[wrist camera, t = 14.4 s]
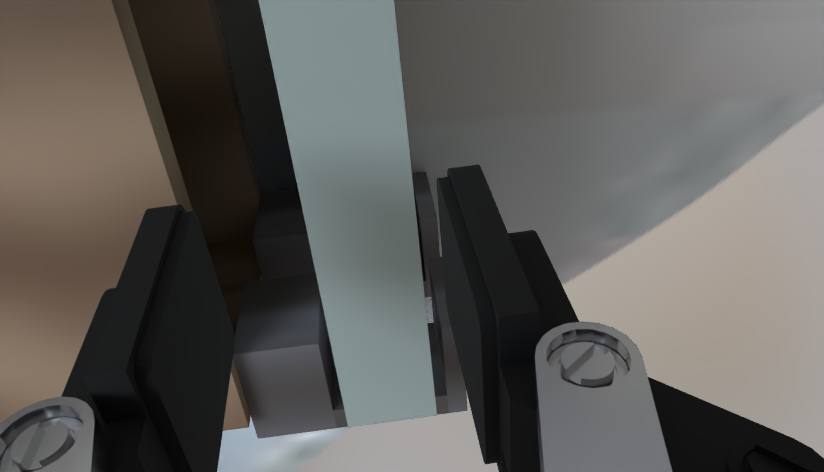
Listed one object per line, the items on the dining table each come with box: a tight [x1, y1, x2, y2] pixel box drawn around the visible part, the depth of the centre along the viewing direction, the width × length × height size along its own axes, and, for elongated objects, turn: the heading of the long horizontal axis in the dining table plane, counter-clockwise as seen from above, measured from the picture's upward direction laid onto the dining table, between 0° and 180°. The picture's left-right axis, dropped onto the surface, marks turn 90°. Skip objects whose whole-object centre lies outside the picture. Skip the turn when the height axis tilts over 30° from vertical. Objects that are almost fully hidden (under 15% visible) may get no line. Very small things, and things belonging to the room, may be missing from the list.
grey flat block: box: [259, 0, 437, 427], centre depth 20 cm, size 14×4×12 cm, turn 5°
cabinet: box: [0, 0, 467, 438], centre depth 21 cm, size 16×16×10 cm
